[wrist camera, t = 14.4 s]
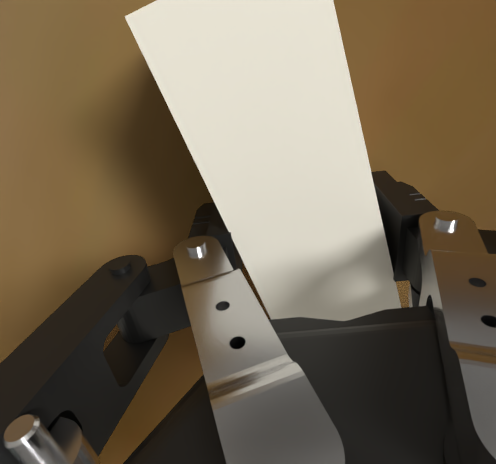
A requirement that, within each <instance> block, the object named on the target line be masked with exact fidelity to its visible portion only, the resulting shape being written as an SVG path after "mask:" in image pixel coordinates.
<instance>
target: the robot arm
mask: <svg viewBox="0 0 496 464" xmlns="http://www.w3.org/2000/svg"><path fill="white" fill-rule="evenodd" d="M371 174H372V178H373V183H374V187H375V192H376V196H377V201H378V205H379V210H380V214H381V219H382V223H383V228H384V232H385V237H386V241H387V246H388V250H389V255H390V259H391V264H392V268H393V273H394V277H393V280H394V281H405V280H409V281H410V286H409V294H408V295H409V307H407V308H395V309H385V310H382V311H378V312H375V313H371V314H368V315H365V316H361V317H358V318H355V319H351V320H348V321H336V320H326V319H316V318H306V317H294V318H283V319H271V320H268V318H267V316H266V315H265V313H264V311H263V309H262V307H261V306H260V304H259V302H258V300H257V298H256V297H255V295H254V293H253V291H252V289H251V288H250V286H249V284H248V282H247V280H246V279H245V277H244V275H243V273H242V258H241V256H240V254H239V252H238V250H237V248H236V246H235V244H234V242H233V240H232V236H231V232H229V231H228V229H227V227H226V225H225V223H224V221H223V219H222V217H221V215H220V213H219V211H218V209H217V207H216V205H215V203H205V204H203V205H202V206H201V207H200V208H199V209H198V210H197V211H196V215H195V219H194V221H193V225H192V228H191V231H190V234H189V237H188V239H186V240H184V241H182V242H180V243H179V244H178V245H177V246H176V247H175V248H174V250H173V256H174V258H172V259H170V260H168V261H165V262H162V263H159V264H155V265H152V266H148V267H147V264H146V261H145V259H144V258H143V257H141V256H138V255H127V256H122V257H118V258H116V259H113V260H111V261H109V262H107V263H106V264H104V265H103V266H102V267H101V268H99V269H98V270H97V271H96V272H95V273H94V274H93V275H92V276H91V277H90V278H89V279H88V280H87V281H86V282H85V283H84V284H83V285H82V286H81V287H80V288H79V289H78V290H77V291H76V292H74V293H73V294H72V295H71V296H70V297H69V298H68V299H67V300H66V301H65V302H64V303H63V304H62V305H61V306H60V307H59V308H58V309H57V310H56V311H55V312H54V313H53V314H52V315H50V316H49V317H48V318H47V319H46V320H45V321H44V322H43V323H42V324H41V325H40V326H39V327H38V328H37V329H36V330H35V331H34V332H33V333H32V334H31V335H30V336H29V337H28V338H27V339H25V340H24V341H23V342H22V343H21V344H20V345H19V346H18V347H17V348H16V349H15V350H14V351H13V352H12V353H11V354H10V355H9V356H8V357H7V358H6V359H5V360H4V361H3V362H1V363H0V464H100V460H99V458H98V456H99V454H100V453H101V451H102V449H103V448H104V446H105V444H106V443H107V441H108V439H109V437H110V436H111V434H112V432H113V431H114V429H115V427H116V426H117V424H118V422H119V421H120V419H121V417H122V416H123V414H124V412H125V411H126V409H127V407H128V406H129V404H130V402H131V400H132V399H133V397H134V395H135V394H136V392H137V390H138V389H139V387H140V385H141V384H142V382H143V380H144V379H145V377H146V375H147V374H148V372H149V370H150V369H151V367H152V365H153V363H154V362H155V360H156V358H157V357H158V355H159V353H160V352H161V350H162V348H163V347H164V345H165V343H166V342H167V340H168V337H169V333H172V332H175V331H178V330H181V329H184V328H187V327H189V326H191V327H192V331H193V335H194V339H195V342H196V346H197V350H198V354H199V358H200V362H201V366H202V369H203V373H204V374H203V376H202V377H201V378H200V379H199V380H198V381H197V382H196V383H195V384H194V386H193V387H192V388H191V389H190V390H189V391H188V392H187V393H186V394H185V395H184V397H183V398H182V399H181V400H180V401H179V402H178V403H177V404H176V405H175V407H174V408H173V409H172V410H171V411H170V412H169V413H168V414H167V415H166V417H165V418H164V419H163V420H162V421H161V422H160V423H159V424H158V425H157V426H156V428H155V429H154V430H153V431H152V432H151V433H150V434H149V435H148V436H147V438H146V439H145V440H144V441H143V442H142V443H141V444H140V445H139V446H138V447H137V449H136V450H135V451H134V452H133V453H132V454H131V455H130V456H129V457H128V459H127V460H126V461H125V462H124V463H123V464H496V231H491V230H478V229H477V227H476V224H475V222H474V221H473V220H472V219H471V218H469V217H467V216H465V215H463V214H460V213H456V212H451V211H439V210H438V209H437V208H436V207H435V206H434V205H432V204H431V203H430V202H429V201H428V200H427V199H426V200H425V197H424V196H423V195H422V194H420V193H419V192H418V191H417V190H416V189H415V188H414V187H413V186H410V185H408V184H405V183H403V182H396V181H395V180H394V179H393V178H392V177H391V176H390V175H389V174H388V173H387V172H386V171H376V172H371ZM116 324H117V326H118V328H119V330H120V331H119V332H118V333H117V335H116V336H115V337H114V339H113V340H112V341H111V343H110V344H109V345H108V346H107V348H106V349H105V350H104V352H103V347H104V342H105V340H106V338H107V336H108V334H109V333H110V332H111V331H112V329H113V328H114V327H115V326H116Z"/></svg>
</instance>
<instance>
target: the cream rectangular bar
mask: <svg viewBox="0 0 496 464" xmlns="http://www.w3.org/2000/svg"><path fill="white" fill-rule="evenodd" d="M125 18H126V20H127V22H128V25H129V27H130V29H131V31H132V33H133V35H134V37H135V39H136V41H137V43H138V45H139V47H140V49H141V51H142V54H143V56H144V58H145V60H146V62H147V64H148V66H149V68H150V70H151V72H152V74H153V76H154V78H155V80H156V82H157V85H158V87H159V89H160V91H161V93H162V95H163V97H164V99H165V101H166V103H167V105H168V107H169V109H170V111H171V114H172V116H173V118H174V120H175V122H176V124H177V126H178V128H179V130H180V132H181V134H182V136H183V138H184V140H185V143H186V145H187V147H188V149H189V151H190V153H191V155H192V157H193V159H194V161H195V163H196V165H197V167H198V169H199V171H200V174H201V176H202V178H203V180H204V182H205V184H206V186H207V188H208V190H209V192H210V194H211V196H212V198H213V200H214V203H215V205H216V207H217V209H218V211H219V213H220V215H221V217H222V219H223V221H224V223H225V225H226V227H227V229H228V231H229V232H231V236H232V240H233V242H234V244H235V246H236V248H237V250H238V252H239V254H240V256H241V258H242V260H243V263H244V265H245V267H246V269H247V271H248V273H249V275H250V277H251V279H252V281H253V283H254V285H255V287H256V289H257V291H258V294H259V296H260V298H261V300H262V302H263V304H264V306H265V308H266V310H267V312H268V314H269V316H270V318H271V319H283V318H294V317H306V318H316V319H326V320H336V321H348V320H351V319H355V318H358V317H361V316H365V315H368V314H371V313H375V312H378V311H382V310H385V309H395V308H401V304H400V300H399V295H398V291H397V286H396V282H395V281H394V280H393V277H394V273H393V268H392V264H391V259H390V255H389V250H388V246H387V241H386V237H385V232H384V228H383V223H382V219H381V214H380V210H379V205H378V201H377V196H376V192H375V187H374V183H373V178H372V174H371V169H370V165H369V160H368V156H367V151H366V147H365V142H364V138H363V133H362V129H361V124H360V120H359V115H358V111H357V106H356V102H355V97H354V92H353V88H352V83H351V79H350V74H349V70H348V65H347V61H346V56H345V52H344V47H343V43H342V38H341V34H340V29H339V25H338V20H337V16H336V11H335V7H334V2H333V0H157V1H155V2H153V3H151V4H149V5H147V6H145V7H143V8H141V9H139V10H137V11H135V12H133V13H131V14H129V15H127V16H125Z"/></svg>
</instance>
